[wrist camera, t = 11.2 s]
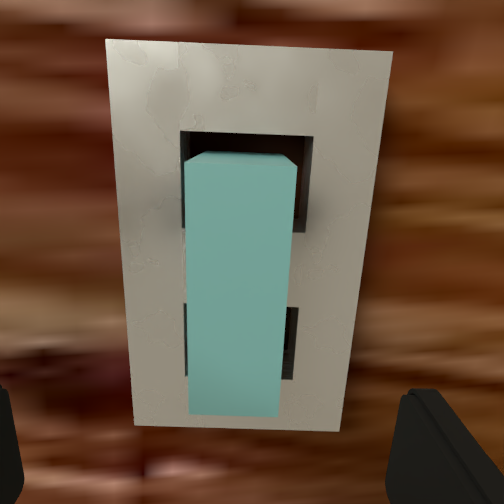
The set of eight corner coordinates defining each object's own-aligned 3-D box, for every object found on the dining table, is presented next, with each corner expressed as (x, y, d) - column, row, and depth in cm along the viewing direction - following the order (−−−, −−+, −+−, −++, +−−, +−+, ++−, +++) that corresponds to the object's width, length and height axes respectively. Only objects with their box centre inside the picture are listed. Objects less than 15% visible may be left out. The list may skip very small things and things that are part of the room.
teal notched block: (270, 334, 23) (278, 417, 17) (206, 332, 23) (188, 414, 17) (282, 153, 20) (297, 166, 13) (206, 150, 20) (184, 162, 13)
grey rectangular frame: (329, 396, 25) (339, 431, 22) (148, 390, 25) (134, 425, 22) (371, 63, 19) (393, 51, 16) (127, 52, 18) (105, 39, 16)
